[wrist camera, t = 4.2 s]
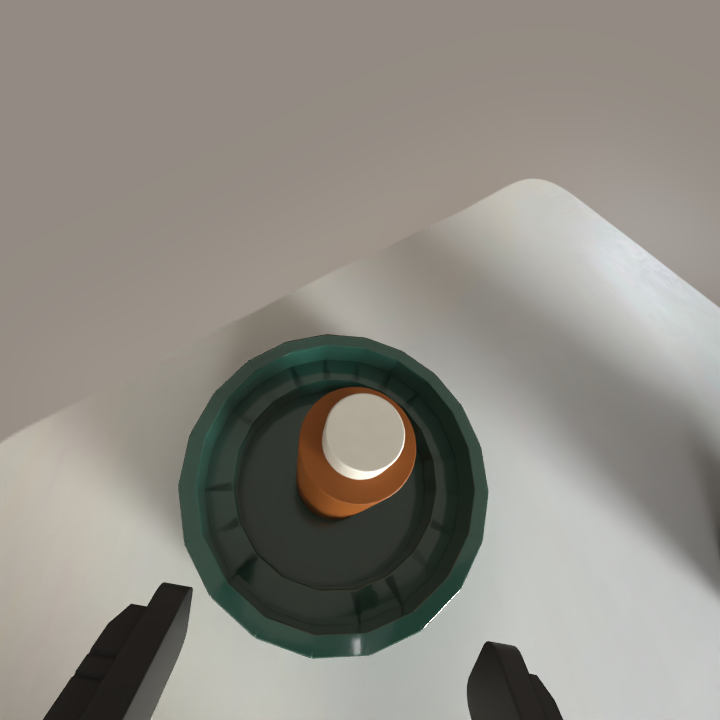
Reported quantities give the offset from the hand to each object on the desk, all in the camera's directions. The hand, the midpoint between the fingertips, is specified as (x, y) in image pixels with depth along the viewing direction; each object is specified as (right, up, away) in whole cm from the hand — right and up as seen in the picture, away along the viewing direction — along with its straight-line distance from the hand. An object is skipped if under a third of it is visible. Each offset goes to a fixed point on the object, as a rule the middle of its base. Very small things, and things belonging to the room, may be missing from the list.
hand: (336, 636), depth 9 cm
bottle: (-1, 0, +12) cm, 12 cm away
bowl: (-1, 0, +13) cm, 13 cm away
